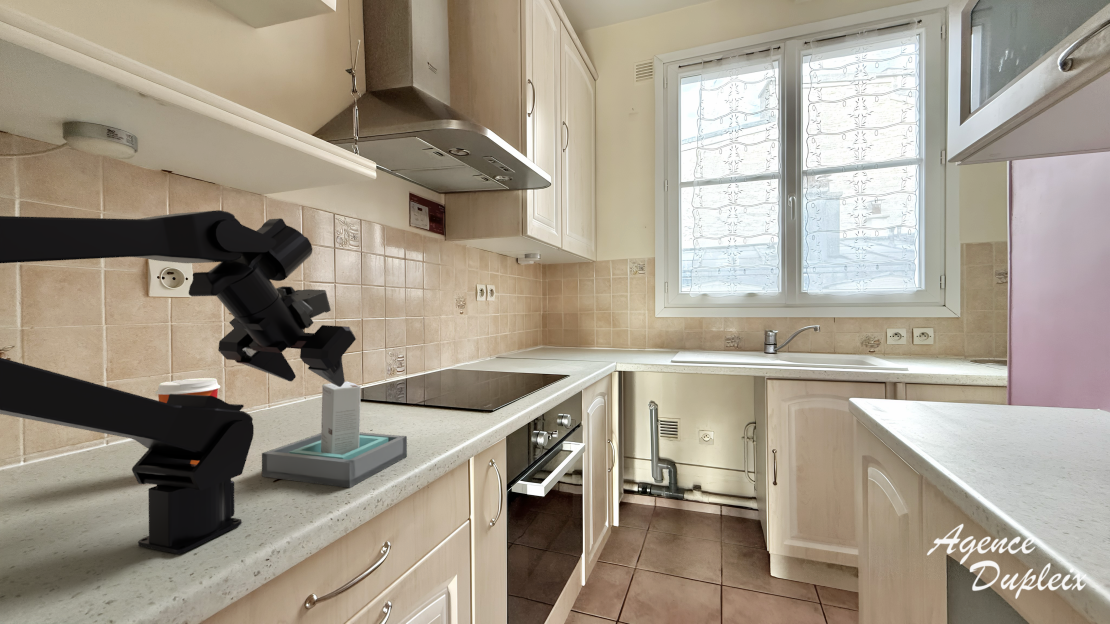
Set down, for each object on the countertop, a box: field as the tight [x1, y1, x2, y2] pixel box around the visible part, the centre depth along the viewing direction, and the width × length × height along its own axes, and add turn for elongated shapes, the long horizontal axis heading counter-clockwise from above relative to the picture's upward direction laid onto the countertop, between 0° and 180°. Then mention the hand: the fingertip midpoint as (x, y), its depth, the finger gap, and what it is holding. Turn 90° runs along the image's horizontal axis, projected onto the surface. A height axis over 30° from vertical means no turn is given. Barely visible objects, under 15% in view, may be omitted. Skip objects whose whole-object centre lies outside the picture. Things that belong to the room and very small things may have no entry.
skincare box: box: [320, 381, 362, 455], centre depth 67 cm, size 6×4×12 cm
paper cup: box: [154, 377, 221, 464], centre depth 66 cm, size 8×8×14 cm
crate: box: [261, 431, 408, 489], centre depth 67 cm, size 13×16×4 cm
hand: (317, 381), depth 64 cm, fingers open, 9 cm apart
